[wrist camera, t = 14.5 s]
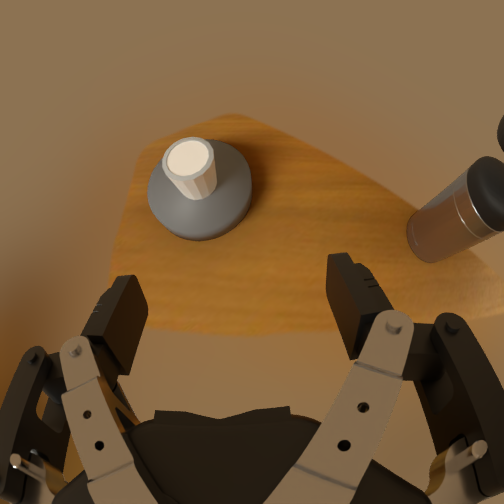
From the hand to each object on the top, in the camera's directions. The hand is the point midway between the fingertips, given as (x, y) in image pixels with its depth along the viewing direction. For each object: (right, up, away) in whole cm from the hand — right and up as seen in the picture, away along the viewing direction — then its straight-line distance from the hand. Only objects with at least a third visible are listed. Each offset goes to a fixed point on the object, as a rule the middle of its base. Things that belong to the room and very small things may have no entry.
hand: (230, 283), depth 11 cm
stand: (-7, +11, +32) cm, 35 cm away
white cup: (-7, +11, +28) cm, 31 cm away
